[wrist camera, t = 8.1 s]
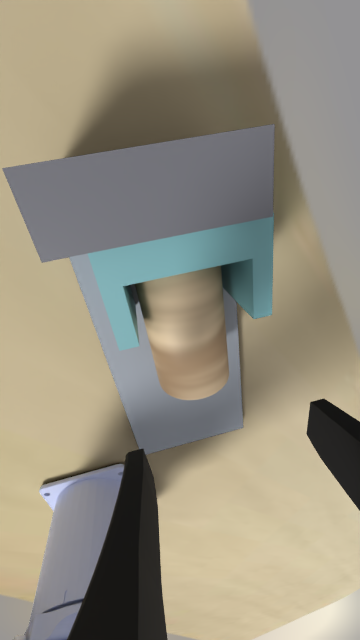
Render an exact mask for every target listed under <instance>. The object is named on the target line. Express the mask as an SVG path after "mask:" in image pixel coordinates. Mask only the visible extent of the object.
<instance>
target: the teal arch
mask: <svg viewBox="0 0 360 640" xmlns="http://www.w3.org/2000/svg"><path fill="white" fill-rule="evenodd" d="M273 231H274V213H273V217H269V218H264V219H259V220H254V221H249V222H244V223H239V224H234V225H229V226H224V227H218V228H213V229H208V230H203V231H198V232H193V233H188V234H183V235H178V236H173V237H168V238H163V239H158V240H153V241H148V242H143V243H138V244H133V245H128V246H123V247H118V248H113V249H108V250H103V251H98V252H93V253H88V257H89V260H90V263H91V266H92V269H93V272H94V275H95V278H96V281H97V284H98V287H99V290H100V293H101V296H102V299H103V302H104V305H105V308H106V311H107V315H108V318H109V321H110V324H111V327H112V330H113V333H114V336H115V339H116V342H117V345H118V348H119V351H121V350H126V349H130V348H134V347H138V346H139V336H138V325H137V315H136V305H135V301H134V298H133V294H132V290H131V286H130V285H131V284H136V283H141V282H145V281H150V280H155V279H159V278H164V277H169V276H173V275H178V274H183V273H188V272H192V271H197V270H202V269H206V268H211V267H216V266H220V265H221V273H222V286H223V288H224V289H225V290H226V291H227V292H228V293H229V294H230V295H231V296H232V297H233V299H234V300H235V301H236V302H237V303H238V304H239V305H240V306H241V307H242V308H243V309H244V310H245V311H246V312H247V313H248V314H249V315H250V316H251V317H252V318H253V319H257V318H261V317H265V316H269V315H272V283H273Z"/></svg>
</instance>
